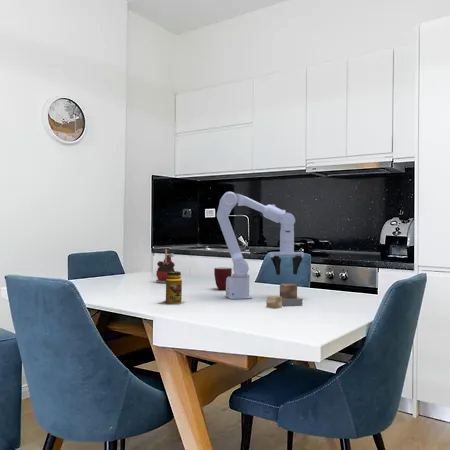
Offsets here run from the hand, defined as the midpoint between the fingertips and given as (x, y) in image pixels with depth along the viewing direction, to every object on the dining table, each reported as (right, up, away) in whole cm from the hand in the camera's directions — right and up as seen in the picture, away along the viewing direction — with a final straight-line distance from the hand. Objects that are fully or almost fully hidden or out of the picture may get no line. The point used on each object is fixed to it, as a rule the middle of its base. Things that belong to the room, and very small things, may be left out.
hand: (286, 274), depth 194 cm
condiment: (-46, -10, -14) cm, 49 cm away
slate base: (-1, -10, -14) cm, 17 cm away
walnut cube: (-1, -7, -14) cm, 16 cm away
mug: (-27, -10, +24) cm, 38 cm away
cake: (-56, -9, +47) cm, 74 cm away
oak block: (-7, -10, -21) cm, 24 cm away
